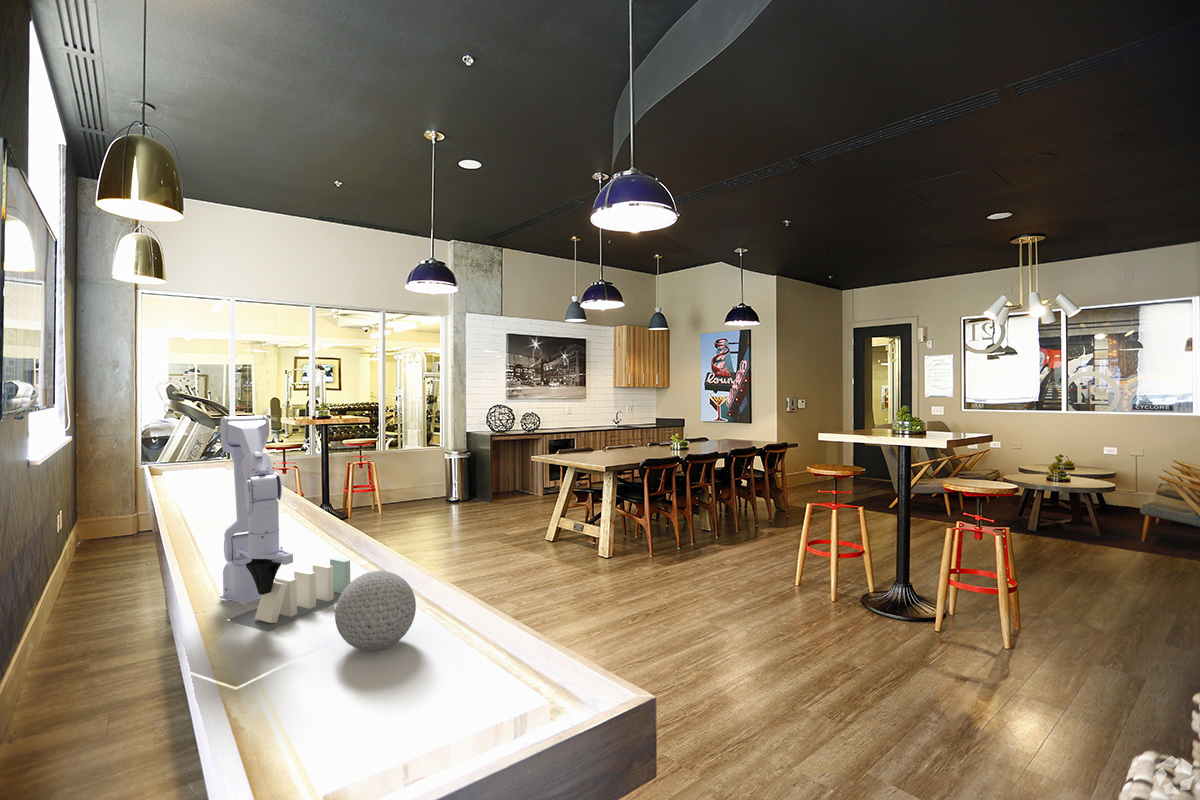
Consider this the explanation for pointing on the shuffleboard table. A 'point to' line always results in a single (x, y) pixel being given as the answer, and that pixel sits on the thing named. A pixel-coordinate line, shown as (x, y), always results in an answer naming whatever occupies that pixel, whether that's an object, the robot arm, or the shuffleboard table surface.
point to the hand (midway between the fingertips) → (264, 593)
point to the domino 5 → (340, 573)
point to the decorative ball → (375, 610)
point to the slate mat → (250, 620)
